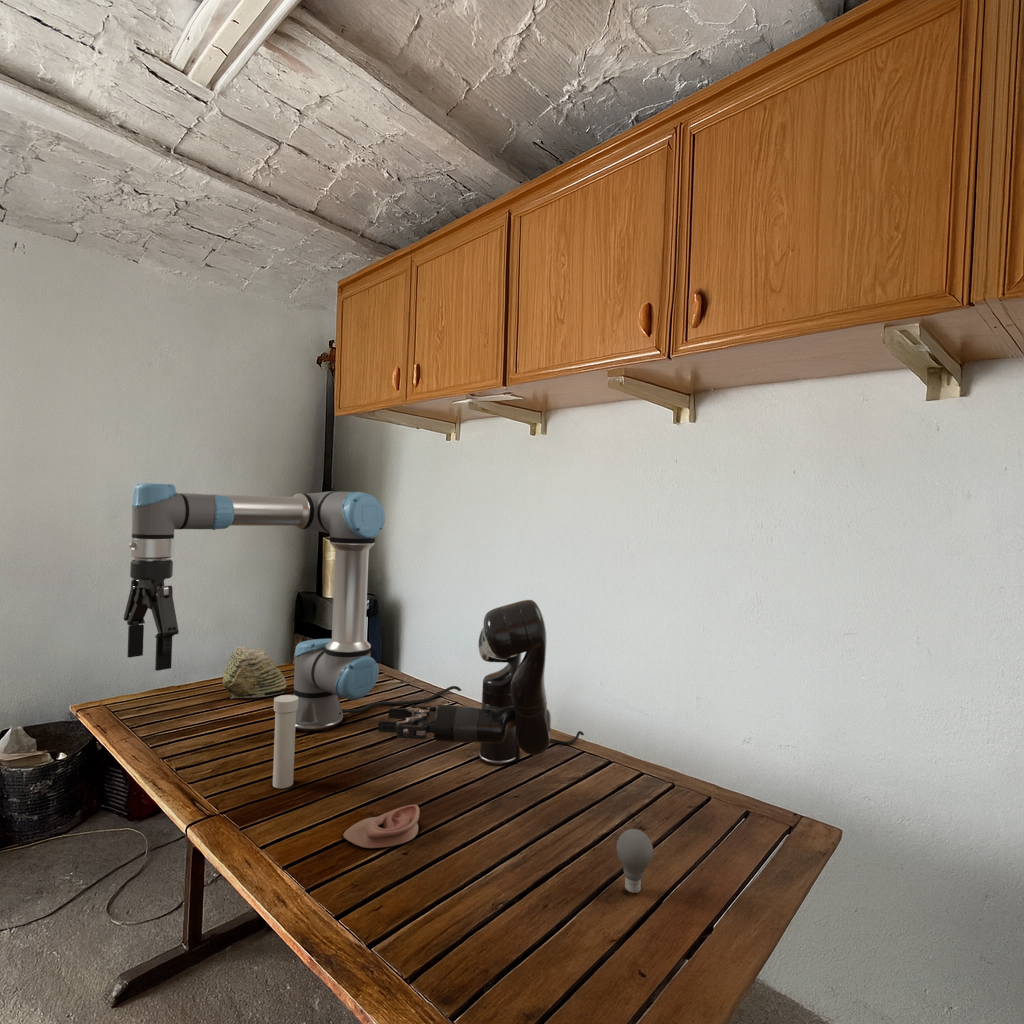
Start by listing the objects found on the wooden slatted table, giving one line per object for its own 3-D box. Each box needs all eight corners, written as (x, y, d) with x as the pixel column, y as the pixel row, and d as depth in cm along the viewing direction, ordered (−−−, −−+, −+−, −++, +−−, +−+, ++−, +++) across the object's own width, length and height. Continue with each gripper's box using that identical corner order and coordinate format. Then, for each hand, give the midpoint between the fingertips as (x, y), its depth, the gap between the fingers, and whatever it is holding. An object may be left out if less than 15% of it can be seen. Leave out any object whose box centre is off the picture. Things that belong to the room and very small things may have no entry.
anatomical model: (336, 822, 116) (363, 794, 127) (335, 843, 116) (362, 813, 127) (404, 832, 113) (426, 803, 124) (403, 854, 113) (425, 823, 124)
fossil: (218, 695, 195) (220, 647, 195) (278, 685, 208) (279, 640, 207) (228, 703, 189) (230, 653, 188) (289, 692, 201) (290, 645, 201)
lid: (291, 713, 136) (291, 702, 136) (269, 711, 136) (269, 701, 136) (301, 706, 141) (302, 695, 141) (280, 704, 141) (280, 694, 141)
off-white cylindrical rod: (287, 789, 136) (290, 704, 136) (269, 787, 137) (272, 702, 137) (296, 780, 141) (299, 698, 140) (278, 779, 141) (281, 696, 141)
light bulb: (610, 879, 108) (613, 822, 108) (644, 879, 109) (647, 822, 109) (619, 902, 102) (622, 840, 102) (655, 901, 103) (658, 840, 103)
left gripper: (108, 554, 134) (104, 654, 134) (159, 565, 118) (155, 678, 119) (146, 552, 140) (143, 648, 140) (199, 563, 124) (195, 671, 124)
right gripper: (463, 696, 144) (392, 692, 144) (454, 717, 129) (375, 712, 130) (461, 729, 144) (391, 725, 145) (452, 754, 129) (374, 749, 130)
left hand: (148, 662), depth 129 cm, fingers open, 13 cm apart
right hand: (383, 719), depth 137 cm, fingers open, 8 cm apart
